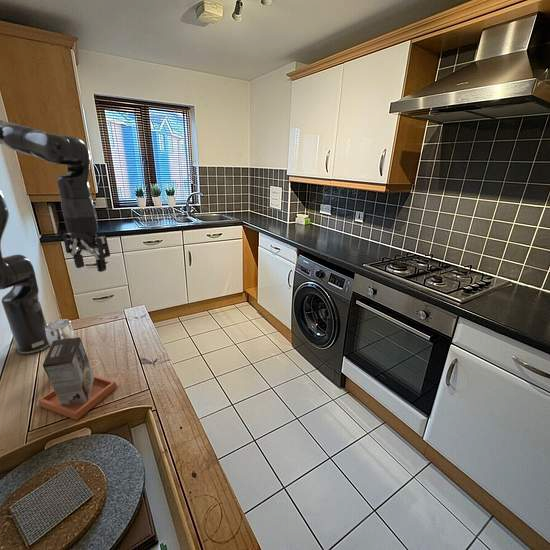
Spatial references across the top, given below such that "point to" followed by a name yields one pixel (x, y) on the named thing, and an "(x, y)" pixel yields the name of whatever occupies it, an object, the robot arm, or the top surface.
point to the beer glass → (59, 330)
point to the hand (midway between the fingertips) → (91, 269)
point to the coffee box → (69, 371)
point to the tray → (98, 392)
